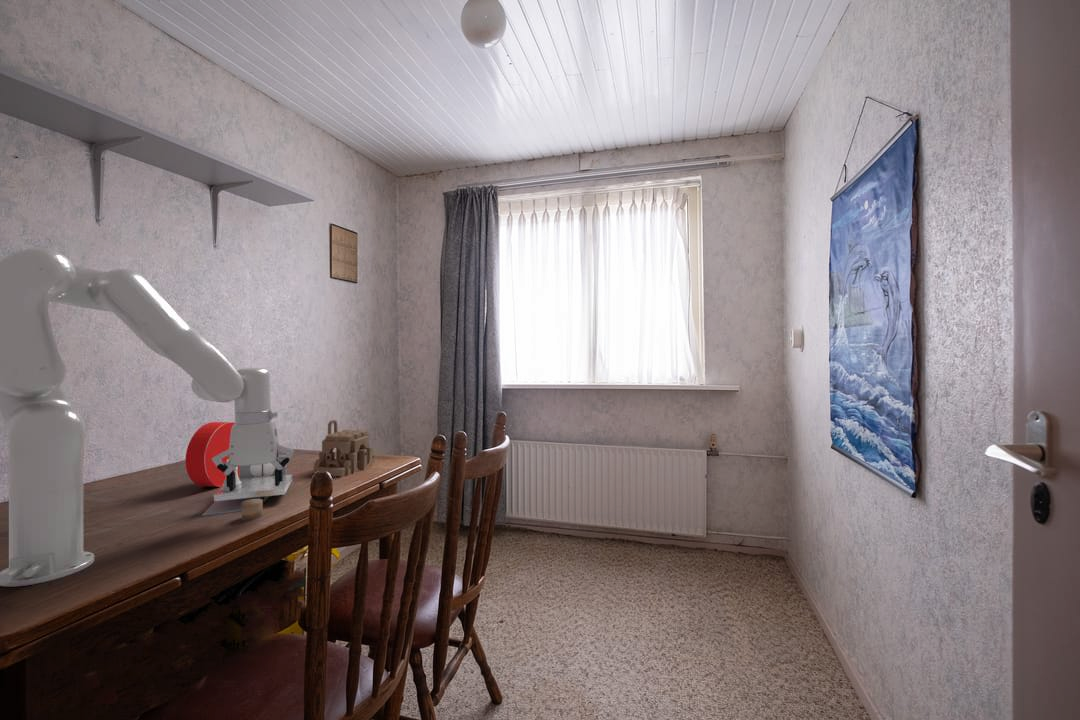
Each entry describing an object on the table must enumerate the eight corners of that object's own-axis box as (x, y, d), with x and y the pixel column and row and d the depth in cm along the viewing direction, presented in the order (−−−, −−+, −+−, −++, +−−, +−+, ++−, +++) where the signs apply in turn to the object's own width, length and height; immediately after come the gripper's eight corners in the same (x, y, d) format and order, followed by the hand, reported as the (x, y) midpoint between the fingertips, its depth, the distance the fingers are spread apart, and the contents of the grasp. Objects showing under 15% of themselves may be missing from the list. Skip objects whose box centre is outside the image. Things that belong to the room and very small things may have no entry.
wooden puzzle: (348, 482, 150) (348, 425, 150) (306, 480, 152) (306, 424, 152) (380, 467, 172) (380, 417, 172) (343, 465, 174) (343, 416, 173)
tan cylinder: (260, 523, 112) (260, 503, 112) (239, 526, 110) (239, 505, 110) (263, 517, 116) (264, 498, 116) (243, 520, 114) (243, 499, 114)
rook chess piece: (231, 492, 120) (231, 461, 120) (217, 491, 121) (217, 460, 121) (246, 487, 124) (246, 458, 124) (232, 486, 125) (232, 457, 125)
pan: (284, 504, 124) (284, 488, 124) (213, 511, 118) (213, 494, 118) (292, 488, 139) (292, 474, 139) (229, 494, 133) (229, 479, 133)
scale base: (292, 509, 123) (292, 468, 123) (202, 518, 115) (202, 475, 115) (300, 488, 142) (300, 453, 142) (224, 495, 135) (224, 458, 135)
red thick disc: (233, 477, 155) (233, 418, 155) (250, 477, 155) (250, 418, 155) (185, 494, 135) (185, 426, 135) (204, 495, 135) (204, 427, 135)
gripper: (294, 414, 120) (296, 479, 121) (215, 418, 114) (218, 487, 114) (290, 417, 113) (293, 486, 114) (206, 423, 107) (209, 496, 107)
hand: (255, 487), depth 114 cm, fingers open, 9 cm apart
